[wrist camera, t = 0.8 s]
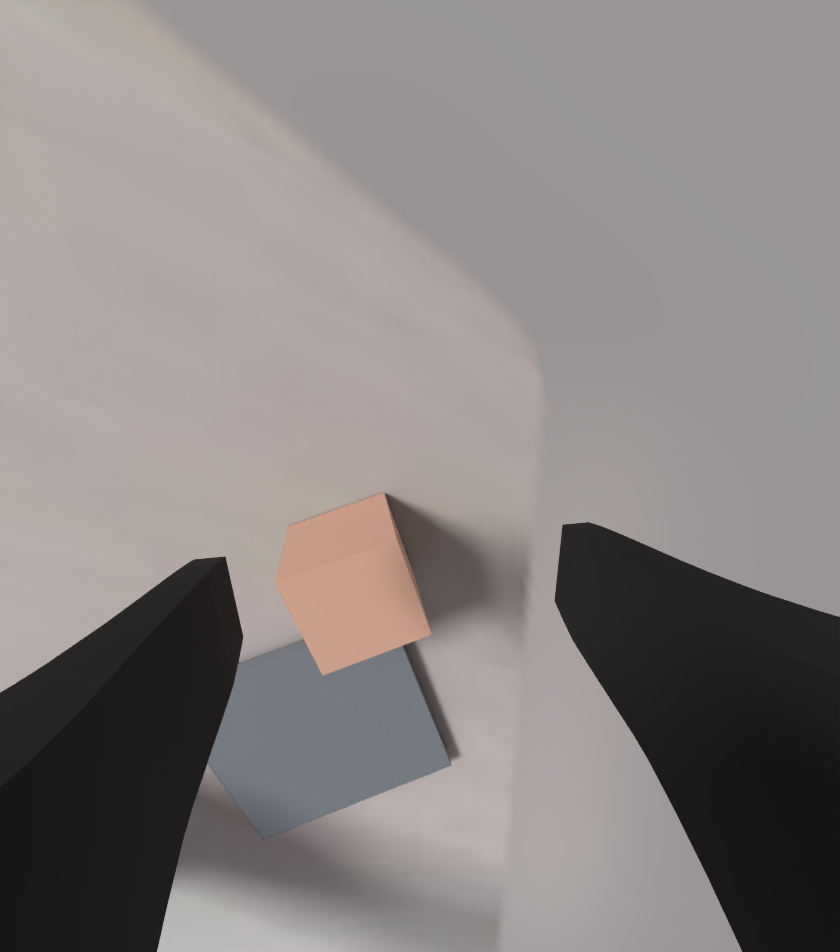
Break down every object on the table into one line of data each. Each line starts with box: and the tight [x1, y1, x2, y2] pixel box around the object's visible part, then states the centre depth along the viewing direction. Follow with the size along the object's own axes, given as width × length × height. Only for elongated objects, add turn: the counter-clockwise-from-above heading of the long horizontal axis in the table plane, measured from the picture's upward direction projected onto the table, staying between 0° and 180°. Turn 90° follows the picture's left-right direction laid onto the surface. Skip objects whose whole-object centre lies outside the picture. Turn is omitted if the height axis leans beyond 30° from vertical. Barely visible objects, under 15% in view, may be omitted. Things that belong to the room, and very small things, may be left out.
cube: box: [275, 493, 432, 675], centre depth 18 cm, size 4×4×4 cm
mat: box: [207, 640, 451, 840], centre depth 23 cm, size 11×11×1 cm
